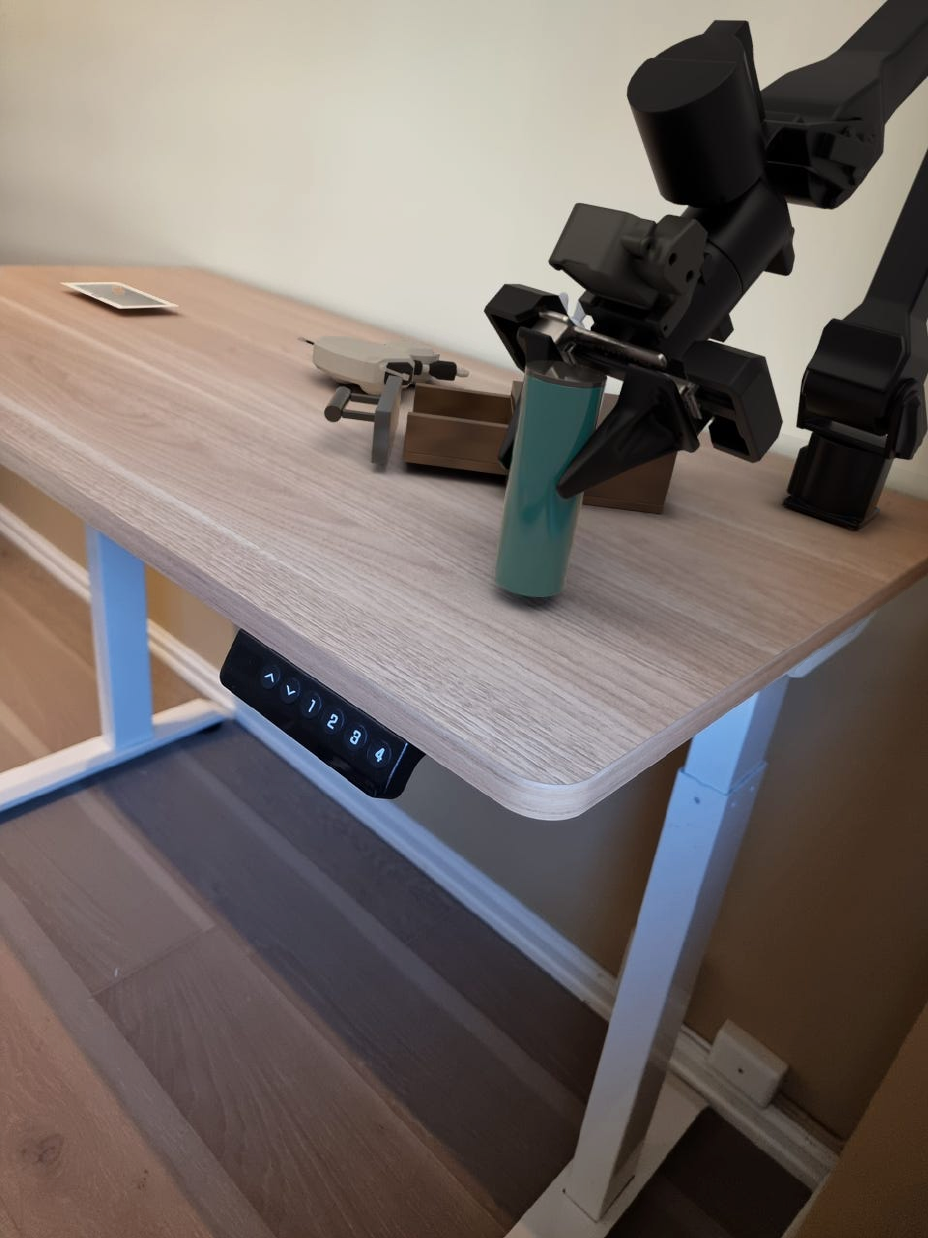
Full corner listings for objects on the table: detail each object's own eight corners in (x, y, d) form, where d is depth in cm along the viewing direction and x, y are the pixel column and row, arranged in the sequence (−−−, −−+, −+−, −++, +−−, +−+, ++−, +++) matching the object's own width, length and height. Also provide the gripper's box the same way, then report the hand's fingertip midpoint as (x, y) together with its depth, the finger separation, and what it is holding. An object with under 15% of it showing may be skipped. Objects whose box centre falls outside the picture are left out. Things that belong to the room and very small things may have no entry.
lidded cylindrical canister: (578, 583, 54) (622, 376, 48) (537, 604, 50) (579, 386, 44) (520, 557, 56) (555, 357, 50) (477, 576, 53) (509, 364, 47)
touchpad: (119, 290, 118) (118, 273, 117) (179, 315, 110) (179, 297, 108) (60, 291, 113) (59, 273, 112) (119, 317, 104) (118, 298, 103)
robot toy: (391, 372, 101) (288, 374, 90) (397, 331, 100) (292, 329, 89) (472, 401, 95) (371, 407, 84) (480, 358, 93) (378, 359, 82)
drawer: (316, 455, 68) (319, 402, 66) (337, 416, 78) (340, 368, 76) (516, 482, 69) (524, 429, 67) (511, 439, 79) (519, 392, 77)
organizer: (505, 493, 69) (517, 419, 66) (502, 445, 80) (512, 380, 77) (662, 514, 70) (680, 441, 67) (637, 463, 80) (652, 399, 78)
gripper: (532, 132, 50) (356, 337, 49) (826, 172, 39) (606, 443, 37) (597, 279, 59) (449, 457, 57) (854, 349, 47) (677, 575, 46)
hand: (529, 478), depth 49 cm, fingers closed on lidded cylindrical canister, 4 cm apart
